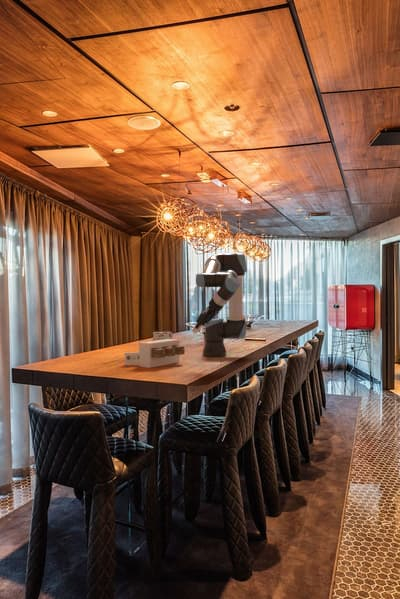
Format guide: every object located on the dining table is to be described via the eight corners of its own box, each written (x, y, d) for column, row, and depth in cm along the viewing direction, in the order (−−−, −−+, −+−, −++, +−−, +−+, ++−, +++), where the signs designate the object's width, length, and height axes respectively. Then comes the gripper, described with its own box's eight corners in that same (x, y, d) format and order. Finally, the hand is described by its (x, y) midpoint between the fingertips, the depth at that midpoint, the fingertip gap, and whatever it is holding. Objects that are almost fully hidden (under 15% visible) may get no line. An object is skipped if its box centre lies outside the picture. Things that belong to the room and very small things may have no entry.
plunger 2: (172, 352, 267) (172, 345, 267) (184, 354, 262) (184, 346, 261) (167, 353, 264) (167, 345, 264) (179, 354, 258) (179, 347, 258)
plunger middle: (163, 354, 261) (163, 346, 261) (174, 355, 255) (174, 347, 255) (157, 355, 258) (157, 347, 258) (169, 356, 252) (169, 348, 252)
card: (143, 364, 259) (143, 352, 259) (143, 364, 257) (143, 352, 257) (125, 365, 257) (124, 352, 257) (125, 365, 256) (124, 352, 256)
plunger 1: (153, 355, 255) (153, 347, 255) (164, 357, 249) (164, 349, 249) (147, 356, 251) (147, 348, 251) (159, 358, 246) (159, 350, 246)
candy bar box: (172, 358, 280) (172, 331, 280) (170, 360, 275) (170, 332, 275) (155, 358, 283) (155, 331, 282) (152, 359, 278) (152, 332, 278)
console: (169, 360, 272) (169, 338, 271) (179, 362, 267) (179, 339, 266) (139, 366, 253) (139, 342, 253) (149, 367, 248) (149, 343, 248)
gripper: (214, 307, 236) (190, 337, 247) (229, 306, 246) (205, 336, 257) (206, 296, 239) (182, 327, 250) (221, 296, 249) (197, 326, 260)
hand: (194, 331), depth 253 cm, fingers closed
